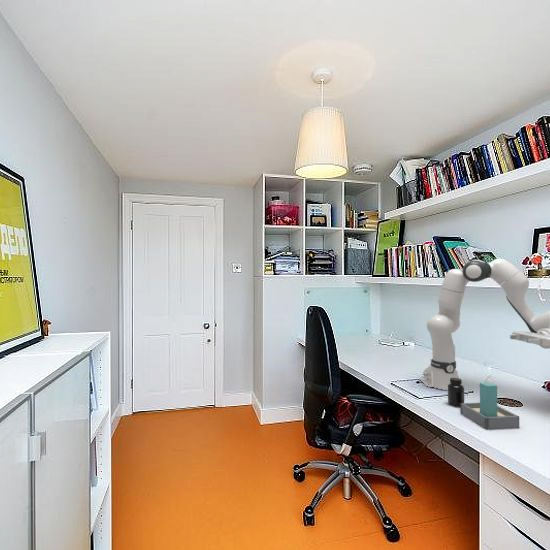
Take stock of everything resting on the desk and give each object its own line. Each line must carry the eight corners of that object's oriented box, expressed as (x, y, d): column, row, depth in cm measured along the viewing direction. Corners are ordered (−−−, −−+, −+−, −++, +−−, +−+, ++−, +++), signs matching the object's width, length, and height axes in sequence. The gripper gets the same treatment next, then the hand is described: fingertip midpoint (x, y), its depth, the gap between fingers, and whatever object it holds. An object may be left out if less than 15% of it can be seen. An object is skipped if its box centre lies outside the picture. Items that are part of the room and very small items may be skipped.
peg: (479, 418, 149) (479, 382, 149) (489, 418, 149) (489, 382, 149) (487, 422, 144) (487, 386, 144) (497, 422, 145) (497, 385, 145)
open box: (460, 413, 154) (460, 403, 154) (490, 412, 155) (490, 402, 155) (486, 429, 138) (486, 418, 138) (519, 427, 140) (519, 416, 140)
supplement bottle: (459, 402, 168) (459, 376, 168) (467, 407, 161) (467, 381, 161) (444, 402, 168) (444, 376, 168) (452, 407, 161) (452, 381, 161)
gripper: (528, 327, 169) (501, 328, 167) (568, 335, 148) (538, 335, 147) (528, 341, 169) (501, 341, 167) (568, 350, 148) (538, 351, 147)
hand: (519, 339), depth 157 cm, fingers open, 8 cm apart
